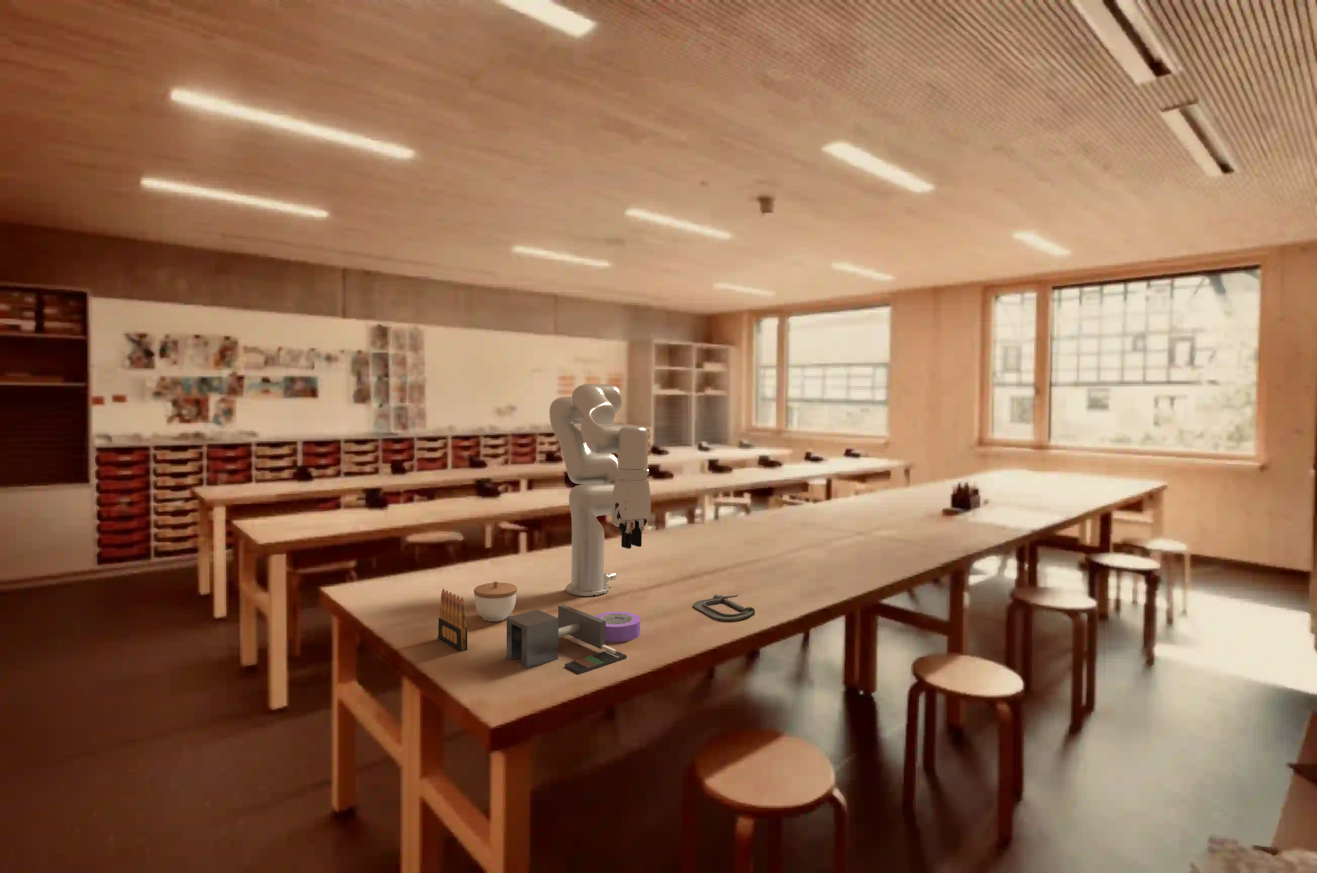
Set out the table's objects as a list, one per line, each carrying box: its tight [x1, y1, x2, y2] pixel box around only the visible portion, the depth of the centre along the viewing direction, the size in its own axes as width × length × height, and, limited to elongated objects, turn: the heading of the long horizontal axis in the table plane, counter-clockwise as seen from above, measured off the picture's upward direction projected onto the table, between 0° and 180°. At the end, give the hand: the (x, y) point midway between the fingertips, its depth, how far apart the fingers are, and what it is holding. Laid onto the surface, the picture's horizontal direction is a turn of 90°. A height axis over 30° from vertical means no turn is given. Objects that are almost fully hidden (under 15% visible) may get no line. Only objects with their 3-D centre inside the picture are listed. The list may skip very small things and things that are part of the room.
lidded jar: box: [473, 580, 518, 622], centre depth 174 cm, size 11×11×9 cm
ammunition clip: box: [437, 588, 468, 653], centre depth 155 cm, size 11×2×12 cm, turn 44°
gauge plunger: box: [557, 604, 617, 653], centre depth 150 cm, size 16×20×6 cm
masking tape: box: [594, 611, 641, 643], centre depth 164 cm, size 12×12×4 cm
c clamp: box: [692, 593, 756, 623], centre depth 185 cm, size 20×17×3 cm
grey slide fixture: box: [505, 609, 628, 675], centre depth 148 cm, size 20×18×9 cm
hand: (631, 546), depth 173 cm, fingers open, 2 cm apart
